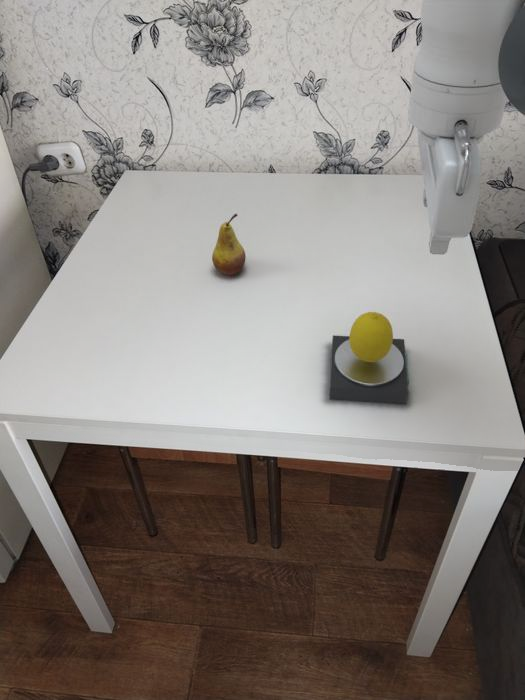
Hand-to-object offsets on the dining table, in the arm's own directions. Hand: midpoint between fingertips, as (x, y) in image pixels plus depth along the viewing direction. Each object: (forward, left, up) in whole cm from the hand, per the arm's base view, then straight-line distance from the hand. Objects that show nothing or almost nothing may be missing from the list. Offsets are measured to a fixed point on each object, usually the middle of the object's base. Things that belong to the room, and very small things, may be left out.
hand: (433, 226), depth 66 cm
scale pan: (+2, +5, -21) cm, 21 cm away
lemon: (+2, +5, -20) cm, 21 cm away
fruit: (+34, +8, -23) cm, 42 cm away
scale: (+2, +5, -23) cm, 24 cm away
